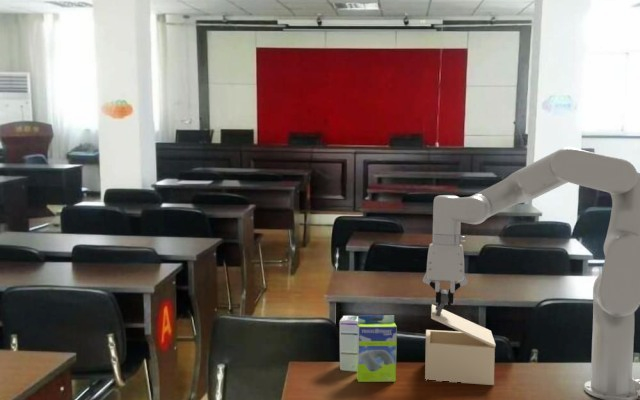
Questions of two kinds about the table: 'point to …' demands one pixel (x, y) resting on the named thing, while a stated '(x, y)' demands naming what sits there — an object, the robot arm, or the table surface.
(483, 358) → the cream hinged door cabinet
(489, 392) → the table surface
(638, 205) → the robot arm
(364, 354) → the box
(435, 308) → the cream panel with handle
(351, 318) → the syrup box
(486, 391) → the table surface
